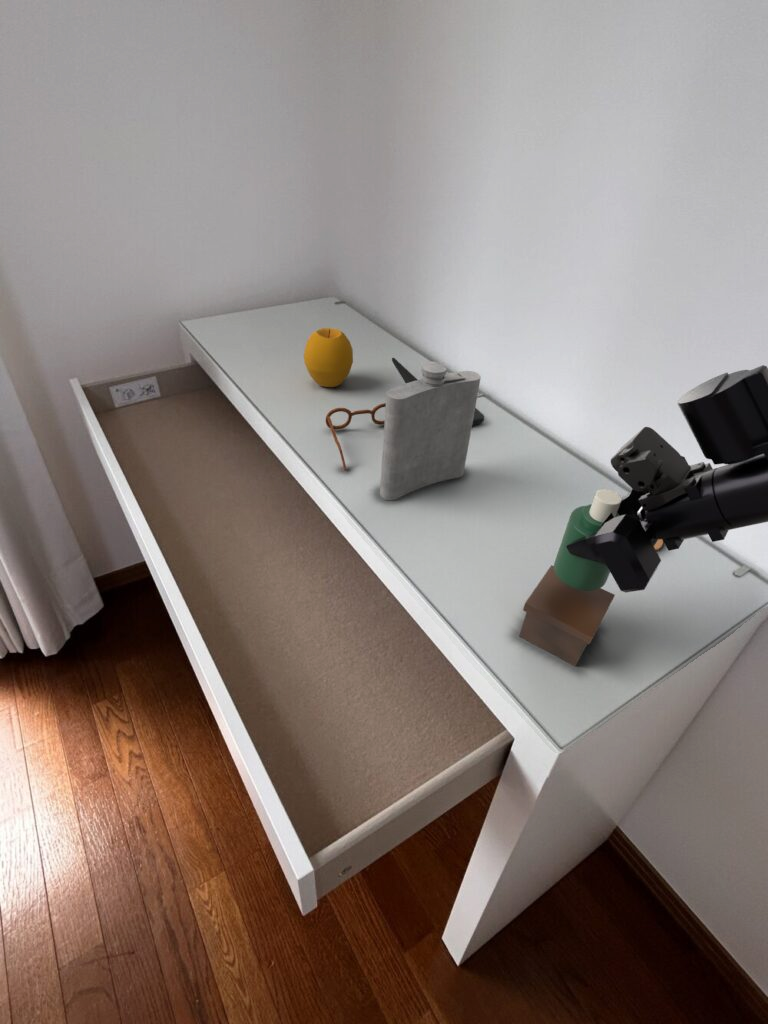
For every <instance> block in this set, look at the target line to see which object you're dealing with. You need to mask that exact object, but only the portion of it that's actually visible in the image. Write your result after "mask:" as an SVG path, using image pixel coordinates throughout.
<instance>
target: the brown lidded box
mask: <svg viewBox="0 0 768 1024" xmlns="http://www.w3.org/2000/svg"><path fill="white" fill-rule="evenodd" d="M615 596H616V594H614V593H612V592H610V591H608V590H606V589H603V588H602V587H601V588H599V589H597V590H592V591H584V590H579V589H576V588H573V587H571V586H569V585H567V584H565V583H564V582H563V581H561V580H560V579H559V577H558V576H557V575H556V573H555V570H554V565H550V566H549V568H548V569H547V570H546V572H545V573H544V575H543V576H542V578H541V579H540V581H539V582H538V584H537V585H536V586H535V588H534V589H533V591H532V592H531V594H530V595H529V597H528V598H527V599H526V601H525V602H524V605H523V608H522V611H523V612H525V616H524V619H523V622H522V625H521V628H520V630H519V633H518V637H519V638H521V639H523V640H525V641H527V642H529V643H530V644H533V645H535V646H536V647H538V648H540V649H542V650H544V651H545V652H548V653H550V654H551V655H553V656H555V657H557V658H559V659H560V660H563V661H564V662H566V663H568V664H569V665H572V666H574V667H576V666H577V664H578V663H579V660H580V659H581V657H582V655H583V653H584V651H585V649H586V647H587V646H588V645H590V644H591V642H592V641H593V638H594V637H595V635H596V633H597V631H598V630H599V627H600V625H601V623H602V621H603V620H604V618H605V616H606V614H607V612H608V611H609V608H610V606H611V604H612V602H613V600H614V598H615Z"/></svg>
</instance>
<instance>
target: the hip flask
mask: <svg viewBox="0 0 768 1024" xmlns="http://www.w3.org/2000/svg"><path fill="white" fill-rule="evenodd" d="M420 370H421V371H420V373H421V374H422V375H421V376H422V377H421V378H420V379H417V380H416V381H413V382H409V383H404V384H401V385H398V386H395V387H392V388H390V389H388V390H387V391H386V396H385V403H386V407H385V411H384V412H385V413H384V421H385V424H383V425H384V426H383V439H382V440H383V441H382V442H383V443H382V455H381V457H382V458H381V470H380V471H381V472H380V484H379V497H380V498H381V499H383V500H386V501H396V500H398V499H400V498H402V497H403V496H405V495H408V494H410V493H412V492H414V491H417V490H419V489H421V488H424V487H428V486H431V485H434V484H437V483H441V482H444V481H449V480H454V479H459V478H461V477H463V476H464V473H465V468H466V462H467V457H468V450H469V445H470V439H471V433H472V428H473V425H472V423H473V418H474V412H475V408H476V405H477V400H478V395H479V389H480V384H481V378H482V376H481V374H479V373H478V372H475V371H474V370H473V371H472V370H463V371H462V370H461V371H455V372H448V367H447V365H446V364H444V363H442V362H438V361H427V362H423V363H422V364H421V368H420Z"/></svg>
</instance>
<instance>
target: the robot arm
mask: <svg viewBox="0 0 768 1024" xmlns="http://www.w3.org/2000/svg"><path fill="white" fill-rule="evenodd" d="M676 404H677V406H678V408H679V410H680V412H681V413H682V415H683V417H684V420H685V421H686V423H687V425H688V427H689V429H690V431H691V433H692V435H693V437H694V439H695V441H696V442H697V445H698V446H699V449H700V450H701V453H702V454H703V456H704V458H705V459H707V460H711V461H712V463H713V465H722V464H723V465H722V466H719V467H716V468H715V467H714V468H713V466H712V464H711V463H710V462H708V463H705V462H704V461H702V462H698V463H695V464H690V465H689V463H688V460H687V459H686V457H685V456H683V455H681V454H680V452H679V451H678V450H677V449H676V448H674V447H673V446H672V445H671V444H670V443H669V442H668V441H667V440H666V439H665V438H663V436H661V435H660V434H659V433H658V432H657V431H656V430H654V429H653V428H652V427H650V426H644V427H643V428H641V430H639V432H637V433H635V435H633V437H631V438H630V439H629V440H628V441H627V442H626V443H624V445H623V444H622V446H621V447H620V449H618V450H617V452H616V453H615V454H614V455H613V456H612V457H611V458H610V465H611V467H612V468H613V469H614V470H615V471H616V472H617V475H618V477H619V478H620V479H622V481H623V482H625V484H626V485H628V486H629V487H630V488H631V491H630V492H629V493H627V494H625V495H623V496H622V497H621V499H622V501H621V504H620V506H619V509H618V511H617V513H618V514H619V516H618V517H615V518H614V516H613V514H612V513H610V514H609V515H608V517H607V518H606V519H605V520H604V522H603V523H602V524H601V526H600V528H599V531H596V532H594V533H592V534H589V535H587V536H584V537H582V538H580V539H577V540H575V541H573V542H571V543H569V544H567V546H566V548H567V550H568V551H569V553H570V554H571V555H575V556H578V557H581V558H585V559H588V560H591V561H595V562H598V563H601V564H604V565H607V567H608V569H609V571H610V574H611V576H612V577H613V580H614V581H615V583H616V585H617V587H618V588H619V591H620V592H623V593H631V592H638V591H645V590H646V588H647V586H648V584H649V583H650V581H651V580H652V578H653V576H654V574H655V573H656V572H657V570H658V567H659V565H660V563H661V562H662V559H661V557H660V556H659V553H658V551H656V550H655V548H654V545H655V544H656V542H657V541H658V539H659V540H661V539H662V540H663V544H664V546H665V547H666V549H667V551H669V552H670V551H674V550H679V549H680V547H681V545H682V544H683V542H684V540H689V539H693V538H698V537H702V536H707V535H708V537H709V539H710V540H711V542H712V543H715V542H719V541H725V538H726V536H727V535H728V532H729V531H731V530H736V529H740V528H745V527H750V526H754V525H759V524H764V523H768V366H767V365H762V364H761V365H760V366H757V367H755V368H753V369H741V370H737V371H734V372H731V373H729V372H724V373H722V374H719V375H717V376H715V377H712V378H710V379H708V380H706V381H704V382H702V383H700V384H698V385H696V386H694V387H693V388H691V389H690V390H688V391H686V392H685V393H683V394H682V395H681V396H680V397H679V398H678V399H677V400H676Z"/></svg>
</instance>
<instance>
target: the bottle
mask: <svg viewBox="0 0 768 1024" xmlns="http://www.w3.org/2000/svg"><path fill="white" fill-rule="evenodd" d="M621 498H622V497H621V496H620V495H619V493H617V492H616V491H614V490H611V489H604V488H603V489H598V490H597V491H596V492H595V494H594V497H593V500H592V503H591V504H587V505H580V506H578V507H576V508H575V509H573V510H572V511H571V512H570V516H569V518H568V521H567V523H566V527H565V530H564V533H563V535H562V539H561V542H560V545H559V548H558V551H557V554H556V557H555V559H554V563H553V566H554V570H555V573H556V575H557V576H558V577H559V579H560V580H561V581H563V582H564V583H565V584H567V585H569V586H571V587H573V588H576V589H579V590H584V591H592V590H597V589H599V588H601V589H602V588H603V587H604V586H605V585H606V583H607V581H608V579H609V576H610V574H611V572H610V571H609V569H608V567H607V565H604V564H601V563H598V562H595V561H591V560H588V559H585V558H581V557H578V556H575V555H571V554H570V553H569V551H568V550H567V548H566V546H567V544H569V543H571V542H573V541H575V540H577V539H580V538H582V537H584V536H587V535H589V534H592V533H594V532H596V531H599V528H600V526H601V524H602V523H603V522H604V520H605V519H606V518H607V517H608V515H609V514H610V513H612V514H613V516H614V518H615V517H618V516H619V514H618V513H617V511H618V509H619V506H620V504H621V501H622V499H621Z"/></svg>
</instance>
